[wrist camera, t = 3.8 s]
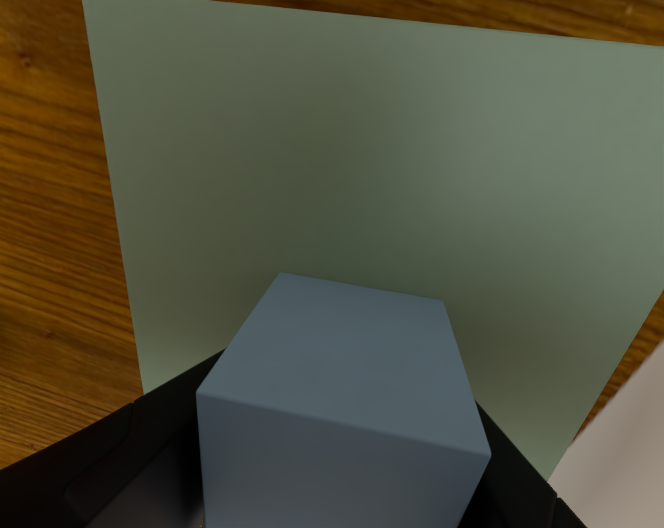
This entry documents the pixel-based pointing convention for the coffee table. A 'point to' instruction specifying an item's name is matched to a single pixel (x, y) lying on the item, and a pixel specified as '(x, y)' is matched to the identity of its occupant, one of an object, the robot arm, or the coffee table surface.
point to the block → (339, 414)
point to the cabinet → (388, 186)
